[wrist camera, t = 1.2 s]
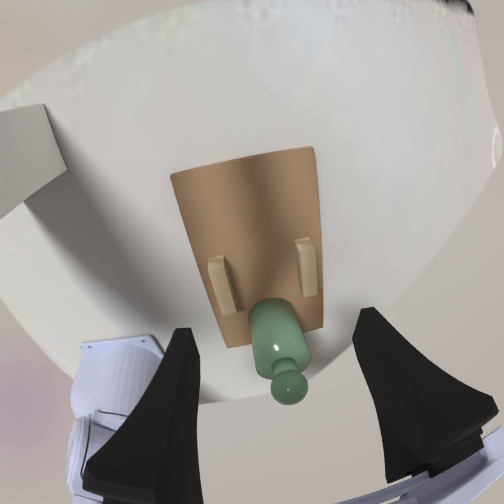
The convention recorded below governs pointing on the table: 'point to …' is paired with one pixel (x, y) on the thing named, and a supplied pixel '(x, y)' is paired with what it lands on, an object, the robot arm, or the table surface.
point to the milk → (26, 154)
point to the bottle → (279, 349)
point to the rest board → (255, 236)
